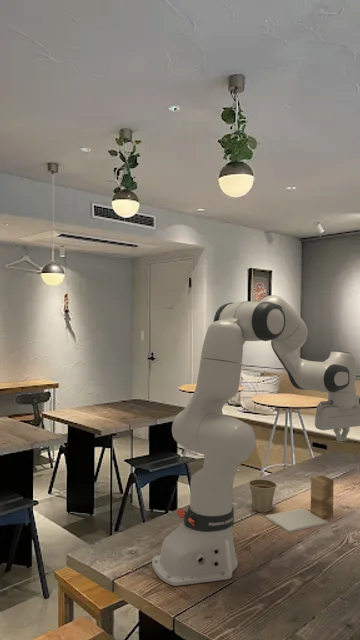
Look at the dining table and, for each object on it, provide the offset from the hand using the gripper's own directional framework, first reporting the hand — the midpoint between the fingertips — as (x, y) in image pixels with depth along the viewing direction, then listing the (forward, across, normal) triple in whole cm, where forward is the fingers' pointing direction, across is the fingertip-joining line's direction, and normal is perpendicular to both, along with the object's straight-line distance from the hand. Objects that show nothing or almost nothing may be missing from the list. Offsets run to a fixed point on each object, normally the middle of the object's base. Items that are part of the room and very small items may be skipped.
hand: (341, 440), depth 162 cm
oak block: (+24, -8, 0) cm, 25 cm away
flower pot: (+24, -23, +12) cm, 35 cm away
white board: (+23, -19, 0) cm, 30 cm away
